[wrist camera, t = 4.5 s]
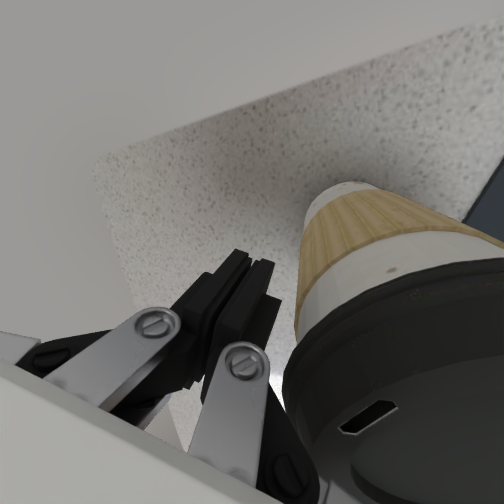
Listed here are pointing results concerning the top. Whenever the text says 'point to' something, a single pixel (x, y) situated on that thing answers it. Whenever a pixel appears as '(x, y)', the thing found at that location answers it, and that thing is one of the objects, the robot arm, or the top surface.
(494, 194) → the mat
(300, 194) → the top surface
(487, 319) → the coffee cup
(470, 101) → the top surface
